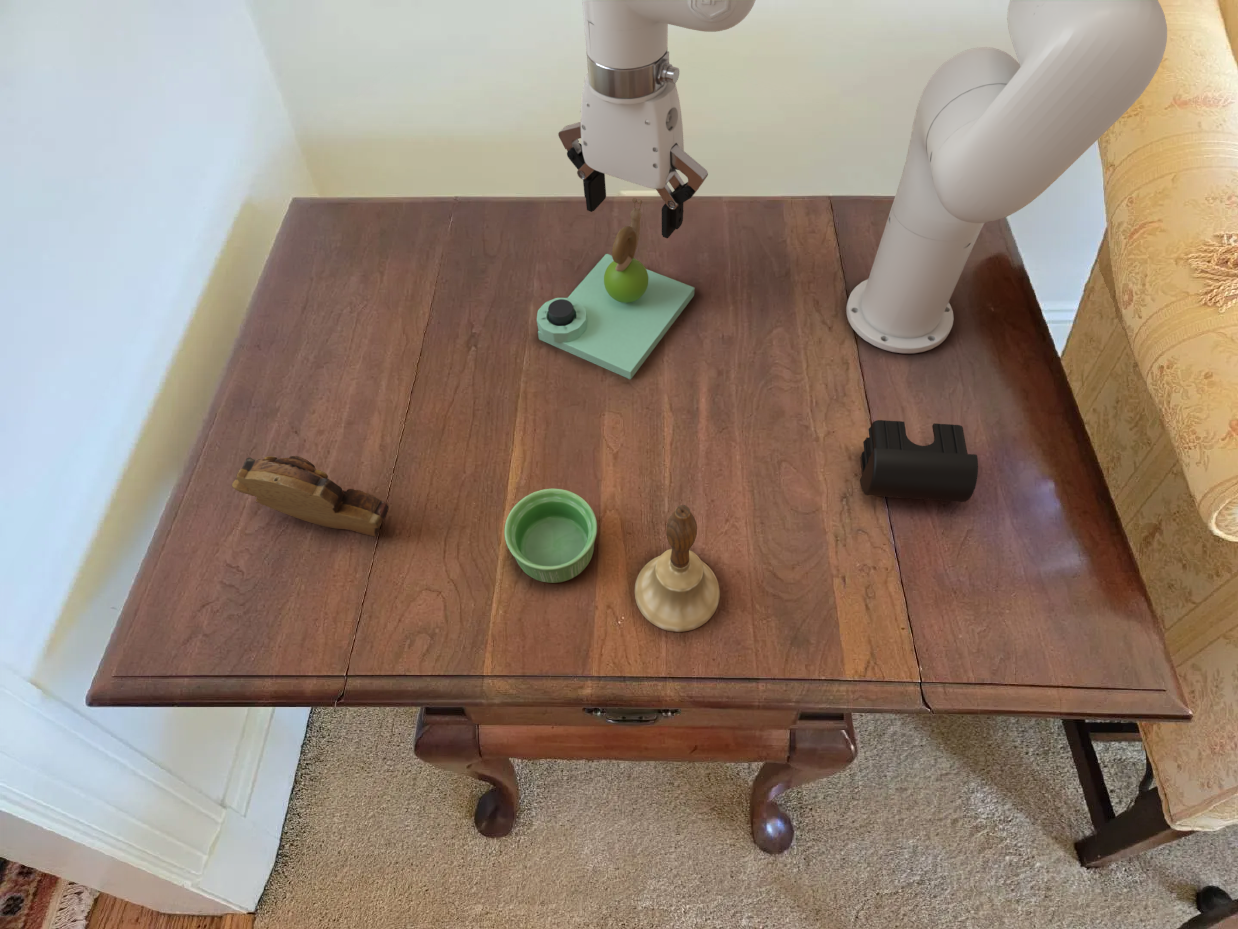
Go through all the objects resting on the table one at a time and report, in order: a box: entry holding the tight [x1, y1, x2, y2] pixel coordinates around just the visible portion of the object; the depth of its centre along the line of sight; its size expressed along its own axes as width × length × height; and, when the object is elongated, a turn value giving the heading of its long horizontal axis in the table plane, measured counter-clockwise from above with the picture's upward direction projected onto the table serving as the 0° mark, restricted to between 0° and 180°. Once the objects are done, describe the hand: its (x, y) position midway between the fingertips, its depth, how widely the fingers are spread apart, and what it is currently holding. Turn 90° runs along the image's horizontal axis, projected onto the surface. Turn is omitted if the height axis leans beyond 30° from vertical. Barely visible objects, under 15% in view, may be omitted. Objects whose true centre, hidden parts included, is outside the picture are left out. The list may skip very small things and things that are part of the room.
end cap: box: [859, 419, 979, 503], centre depth 79 cm, size 10×7×7 cm
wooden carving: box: [231, 455, 390, 538], centre depth 77 cm, size 16×5×10 cm, turn 78°
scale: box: [536, 253, 695, 380], centre depth 95 cm, size 16×14×3 cm
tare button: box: [548, 299, 574, 326], centre depth 93 cm, size 3×3×2 cm
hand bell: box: [634, 504, 721, 633], centre depth 69 cm, size 8×8×16 cm
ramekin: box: [503, 488, 598, 584], centre depth 77 cm, size 9×9×4 cm
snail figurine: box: [604, 197, 648, 303], centre depth 92 cm, size 5×6×12 cm
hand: (633, 217), depth 87 cm, fingers open, 9 cm apart
